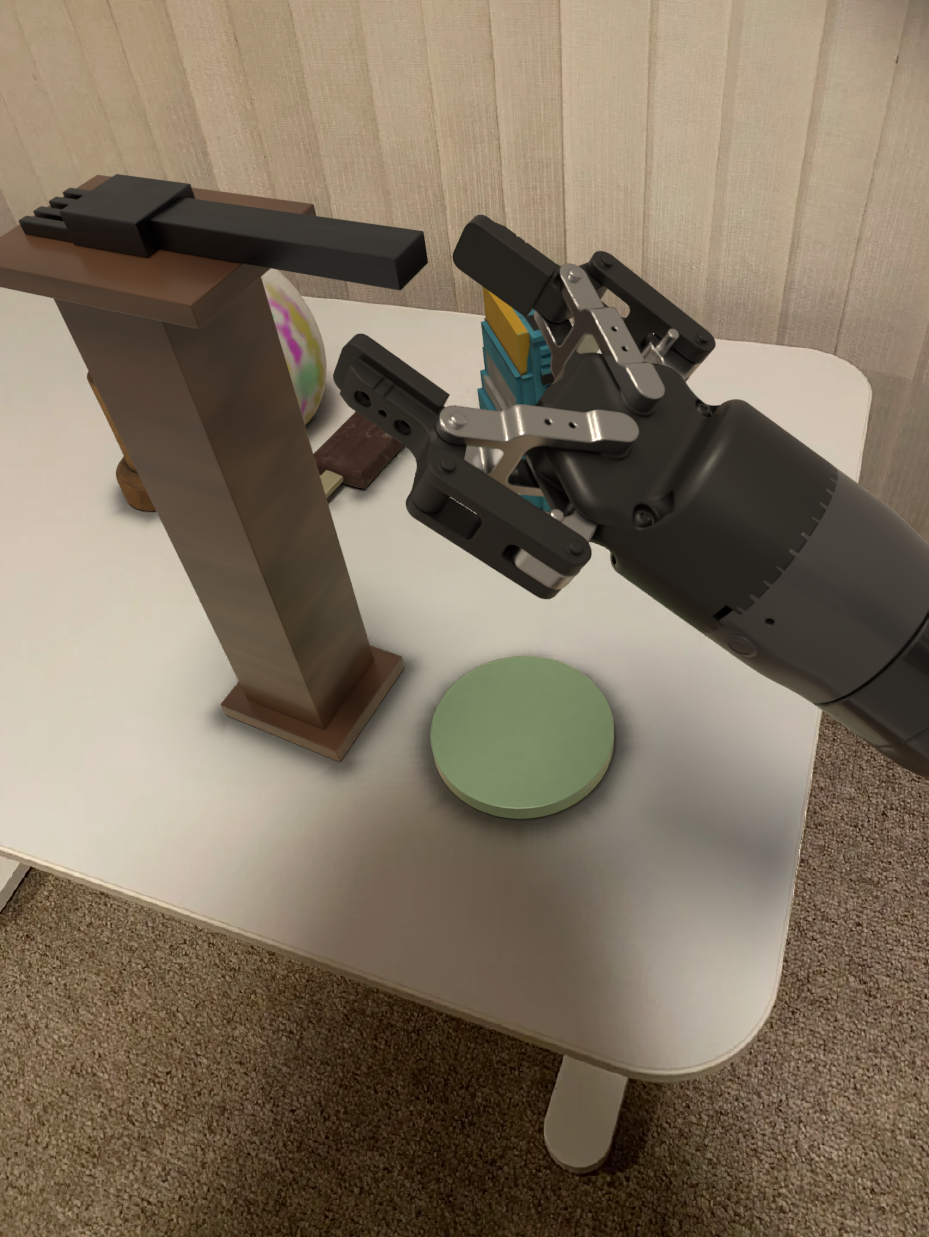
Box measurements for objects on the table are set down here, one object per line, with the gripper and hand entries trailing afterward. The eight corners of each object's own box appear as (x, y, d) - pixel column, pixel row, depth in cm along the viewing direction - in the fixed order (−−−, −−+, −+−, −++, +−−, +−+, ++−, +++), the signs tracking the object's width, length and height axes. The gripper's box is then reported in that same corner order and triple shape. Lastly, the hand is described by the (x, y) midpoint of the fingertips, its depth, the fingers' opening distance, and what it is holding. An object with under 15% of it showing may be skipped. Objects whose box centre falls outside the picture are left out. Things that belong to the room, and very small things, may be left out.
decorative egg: (198, 471, 77) (130, 309, 66) (204, 388, 85) (144, 231, 74) (342, 444, 78) (299, 278, 66) (334, 364, 86) (294, 204, 75)
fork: (390, 301, 31) (383, 263, 30) (21, 236, 38) (5, 202, 37) (438, 253, 33) (433, 215, 32) (77, 199, 40) (63, 166, 39)
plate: (570, 847, 51) (569, 837, 50) (400, 778, 55) (396, 767, 54) (640, 699, 57) (641, 687, 56) (482, 647, 61) (481, 635, 60)
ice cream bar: (328, 529, 71) (430, 418, 79) (324, 513, 69) (428, 402, 77) (275, 511, 73) (380, 404, 81) (269, 495, 72) (376, 388, 79)
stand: (360, 770, 56) (190, 305, 33) (207, 707, 60) (-37, 260, 37) (424, 674, 60) (314, 203, 37) (277, 622, 65) (97, 174, 42)
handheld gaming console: (574, 510, 69) (568, 332, 58) (522, 525, 69) (506, 349, 57) (530, 436, 75) (517, 263, 64) (482, 449, 75) (461, 278, 64)
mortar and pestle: (175, 517, 74) (80, 313, 60) (109, 504, 76) (4, 304, 62) (218, 465, 78) (138, 263, 64) (154, 454, 80) (64, 255, 66)
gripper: (886, 380, 34) (533, 120, 34) (782, 653, 27) (320, 322, 26) (762, 489, 41) (462, 271, 40) (648, 737, 33) (273, 472, 32)
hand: (406, 292), depth 33 cm, fingers open, 8 cm apart
